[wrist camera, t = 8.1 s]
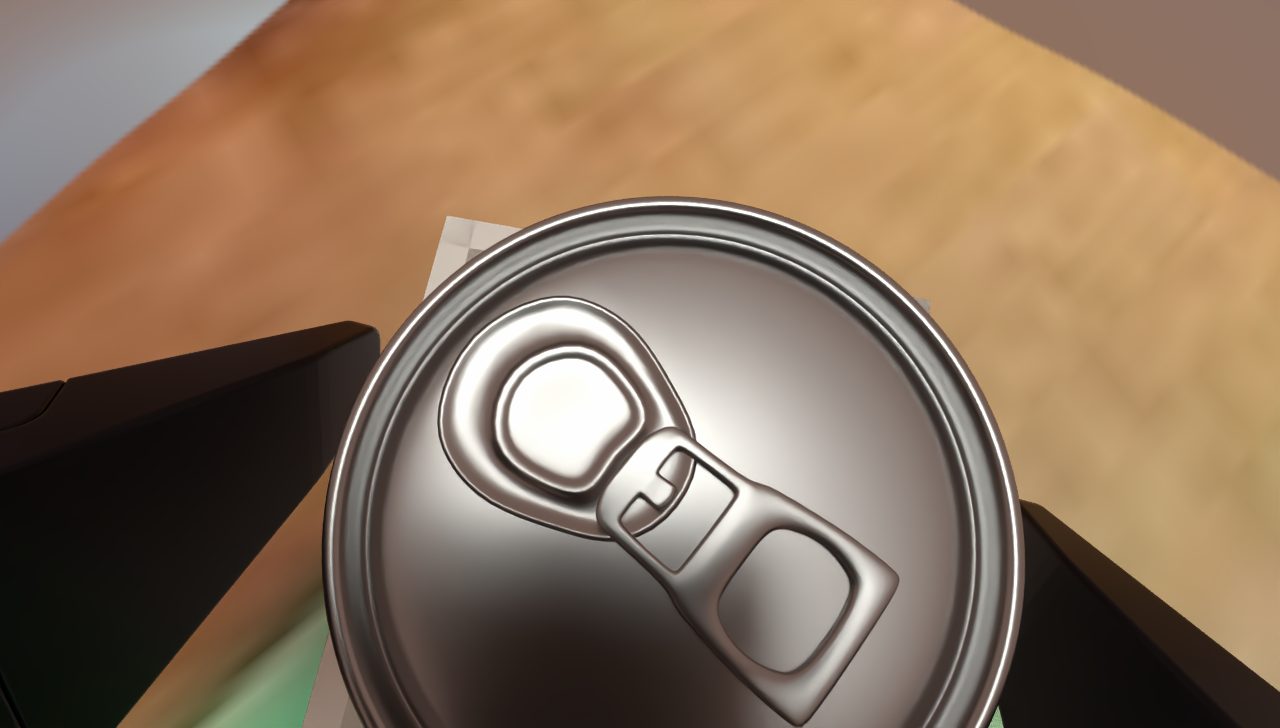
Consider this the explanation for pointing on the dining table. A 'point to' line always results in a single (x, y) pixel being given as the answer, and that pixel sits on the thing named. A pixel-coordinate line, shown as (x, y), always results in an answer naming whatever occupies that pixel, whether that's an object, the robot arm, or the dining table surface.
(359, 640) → the can
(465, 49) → the dining table surface
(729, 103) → the dining table surface
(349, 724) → the tray
